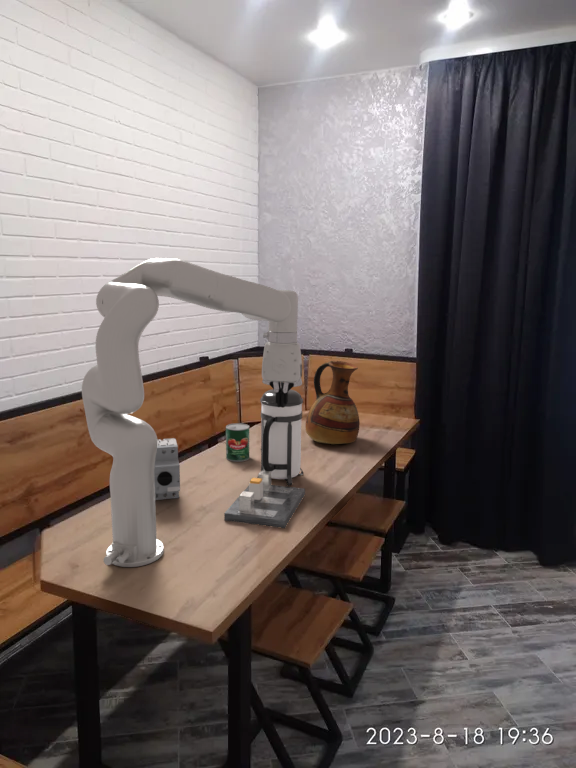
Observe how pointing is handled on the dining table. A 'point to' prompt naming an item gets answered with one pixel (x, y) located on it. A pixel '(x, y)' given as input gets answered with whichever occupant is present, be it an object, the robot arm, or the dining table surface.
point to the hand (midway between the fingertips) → (281, 406)
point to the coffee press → (281, 435)
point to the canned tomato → (237, 442)
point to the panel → (266, 504)
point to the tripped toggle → (256, 488)
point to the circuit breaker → (167, 470)
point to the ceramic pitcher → (333, 408)
